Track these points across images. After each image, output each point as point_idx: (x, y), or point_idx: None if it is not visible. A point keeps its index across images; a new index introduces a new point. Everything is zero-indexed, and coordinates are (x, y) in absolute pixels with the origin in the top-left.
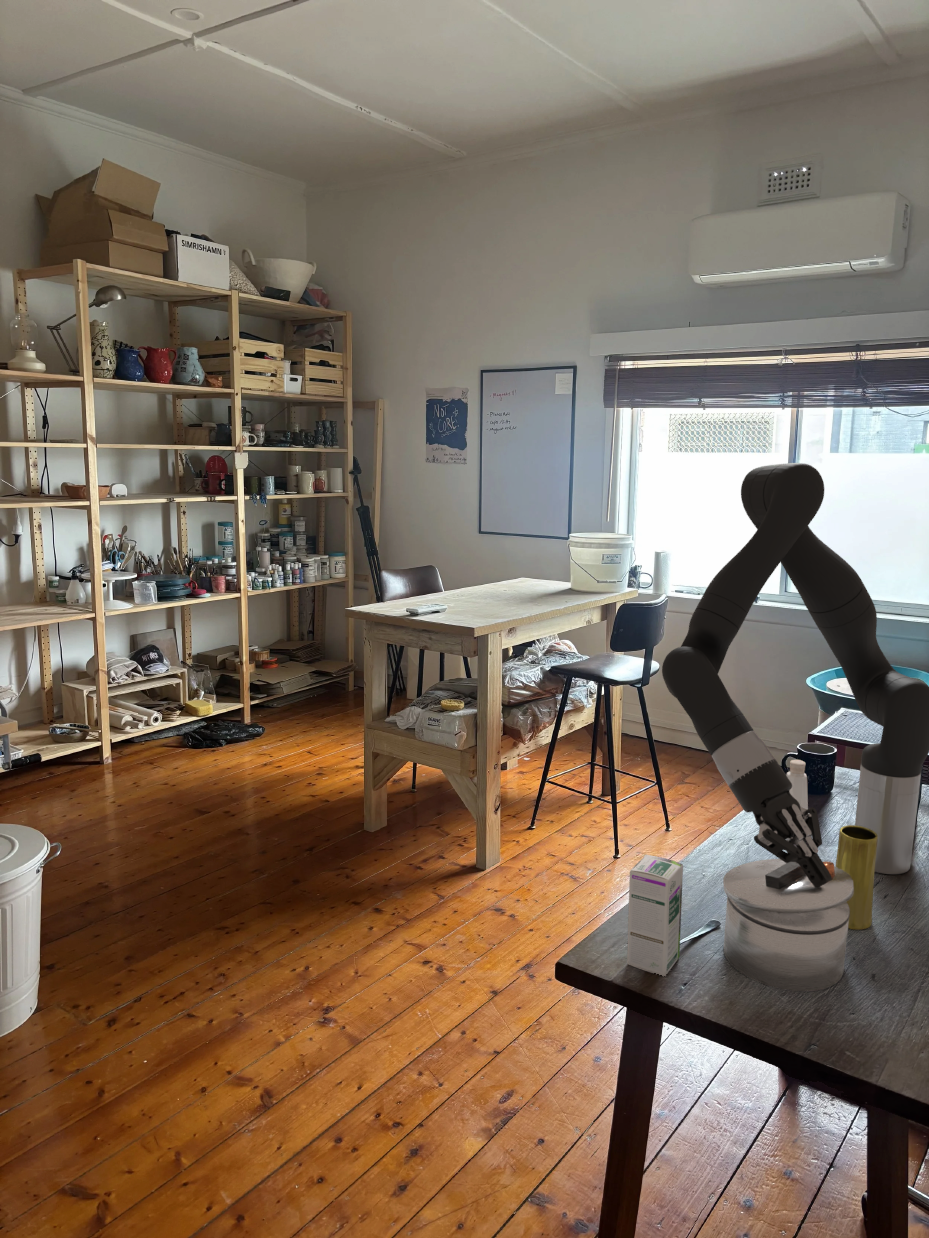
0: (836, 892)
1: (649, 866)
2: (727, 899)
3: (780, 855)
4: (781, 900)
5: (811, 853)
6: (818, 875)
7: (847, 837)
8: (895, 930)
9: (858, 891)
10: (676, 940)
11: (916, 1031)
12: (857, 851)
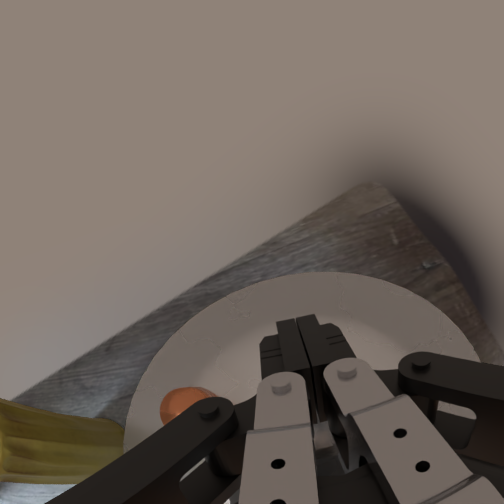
0: (296, 296)
1: None
2: None
3: (459, 418)
4: (451, 355)
5: (325, 368)
6: (330, 331)
7: (4, 450)
8: (81, 389)
9: (80, 427)
10: None
11: (283, 232)
12: (22, 425)
